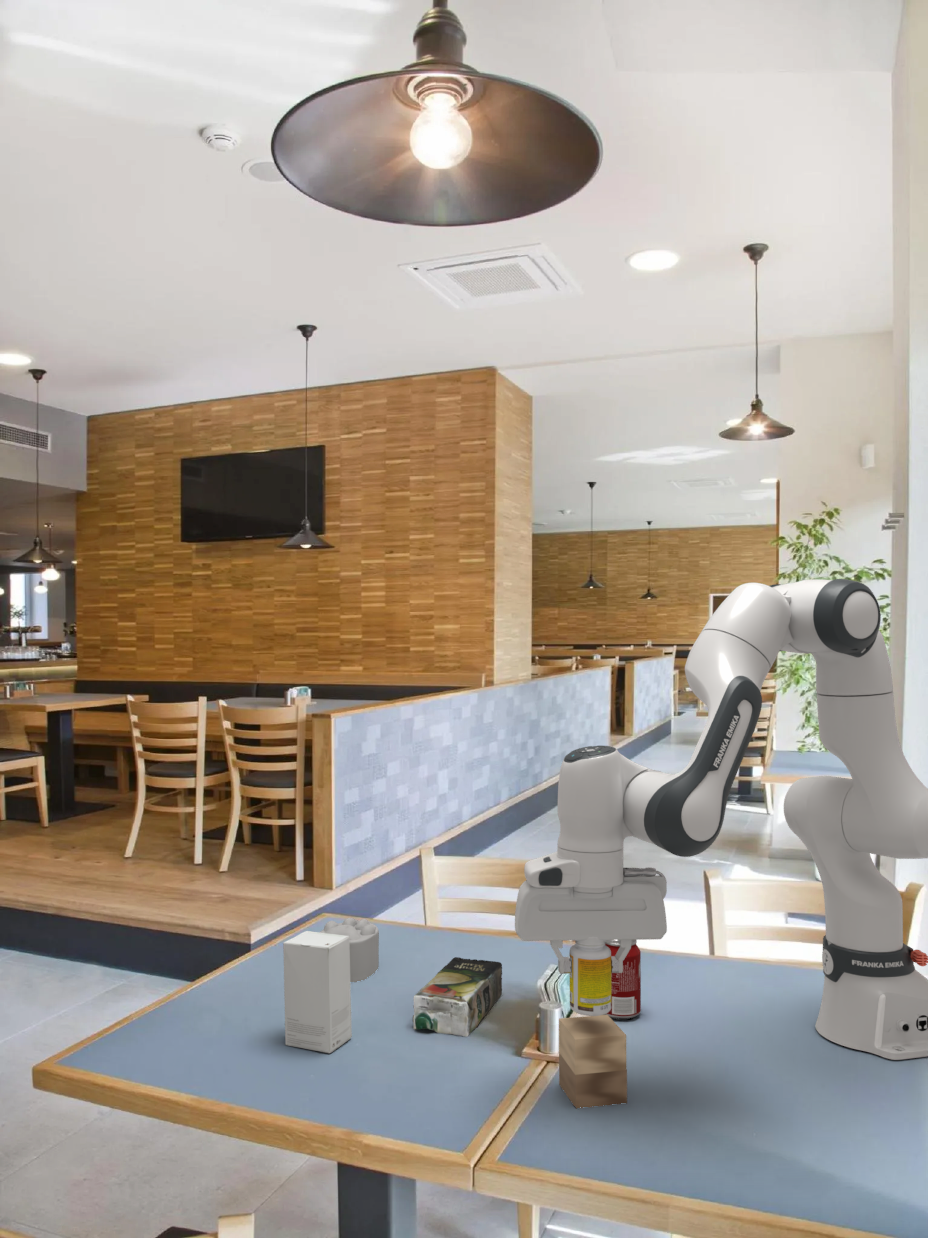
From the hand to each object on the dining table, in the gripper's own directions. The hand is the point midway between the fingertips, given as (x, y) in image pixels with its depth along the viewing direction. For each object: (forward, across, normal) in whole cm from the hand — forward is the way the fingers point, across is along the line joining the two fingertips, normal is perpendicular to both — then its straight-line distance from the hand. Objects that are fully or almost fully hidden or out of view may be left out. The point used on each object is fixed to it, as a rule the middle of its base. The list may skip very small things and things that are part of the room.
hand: (590, 972), depth 126 cm
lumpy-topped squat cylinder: (+16, +35, -51) cm, 64 cm away
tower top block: (+12, 0, 0) cm, 12 cm away
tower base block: (+16, 0, 0) cm, 16 cm away
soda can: (+16, -10, -27) cm, 33 cm away
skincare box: (+16, +38, -18) cm, 45 cm away
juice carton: (+16, +16, -29) cm, 37 cm away
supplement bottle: (+5, 0, 0) cm, 5 cm away
